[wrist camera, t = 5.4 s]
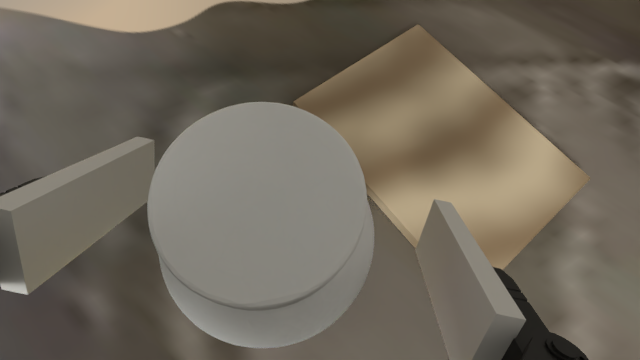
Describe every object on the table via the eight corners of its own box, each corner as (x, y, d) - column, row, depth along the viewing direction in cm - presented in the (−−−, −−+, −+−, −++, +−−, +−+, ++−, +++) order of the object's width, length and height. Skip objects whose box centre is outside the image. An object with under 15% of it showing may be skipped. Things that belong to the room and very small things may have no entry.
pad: (293, 109, 23) (293, 101, 22) (413, 34, 26) (418, 24, 25) (462, 302, 19) (471, 301, 18) (578, 183, 22) (590, 178, 21)
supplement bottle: (328, 342, 18) (401, 407, 6) (206, 320, 18) (24, 339, 6) (345, 222, 20) (420, 93, 8) (238, 202, 20) (158, 45, 8)
